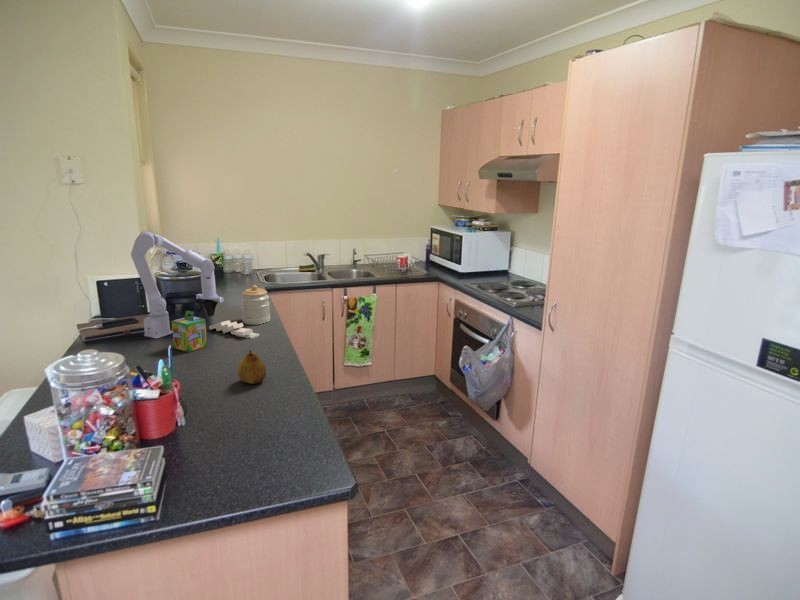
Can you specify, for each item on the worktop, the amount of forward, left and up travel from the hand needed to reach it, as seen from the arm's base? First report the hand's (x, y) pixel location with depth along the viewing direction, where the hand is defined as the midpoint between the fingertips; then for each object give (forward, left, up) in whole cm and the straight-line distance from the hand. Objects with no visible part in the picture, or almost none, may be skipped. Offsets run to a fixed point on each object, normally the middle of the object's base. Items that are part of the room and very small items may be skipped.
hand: (211, 315), depth 209 cm
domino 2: (0, -5, -5) cm, 7 cm away
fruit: (-36, -57, -6) cm, 68 cm away
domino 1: (0, -1, -5) cm, 5 cm away
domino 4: (-1, -15, -4) cm, 16 cm away
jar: (+18, -9, -6) cm, 21 cm away
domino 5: (0, -17, -6) cm, 18 cm away
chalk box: (-22, -12, -6) cm, 26 cm away
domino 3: (-1, -10, -5) cm, 11 cm away
